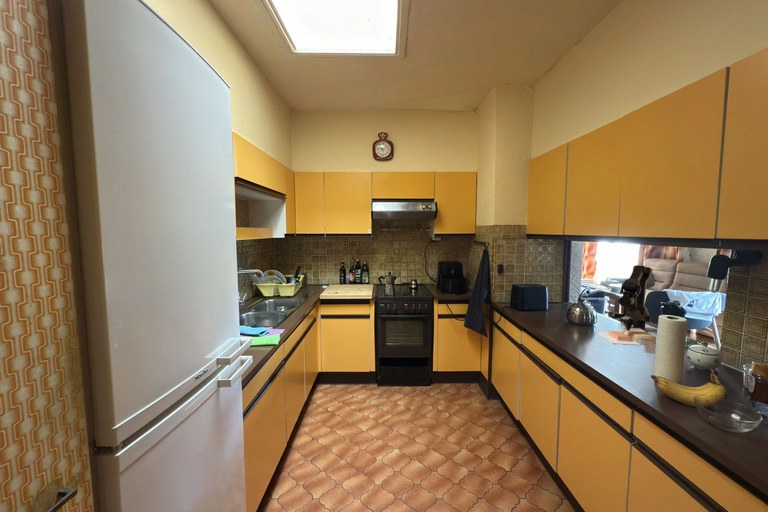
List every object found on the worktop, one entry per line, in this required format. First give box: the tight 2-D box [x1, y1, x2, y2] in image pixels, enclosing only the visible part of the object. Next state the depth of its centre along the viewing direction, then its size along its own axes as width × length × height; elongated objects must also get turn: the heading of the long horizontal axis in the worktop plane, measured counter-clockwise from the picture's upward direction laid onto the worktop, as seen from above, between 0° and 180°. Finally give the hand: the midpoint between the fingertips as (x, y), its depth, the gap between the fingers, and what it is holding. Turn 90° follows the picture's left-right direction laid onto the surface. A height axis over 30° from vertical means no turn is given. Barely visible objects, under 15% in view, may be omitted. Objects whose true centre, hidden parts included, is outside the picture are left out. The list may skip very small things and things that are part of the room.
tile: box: [608, 330, 630, 341], centre depth 171 cm, size 9×6×2 cm, turn 169°
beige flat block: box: [638, 336, 657, 354], centre depth 152 cm, size 7×2×8 cm, turn 67°
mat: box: [596, 331, 641, 346], centre depth 171 cm, size 18×13×1 cm
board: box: [622, 327, 657, 346], centre depth 169 cm, size 16×9×4 cm, turn 169°
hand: (627, 330), depth 170 cm, fingers closed
